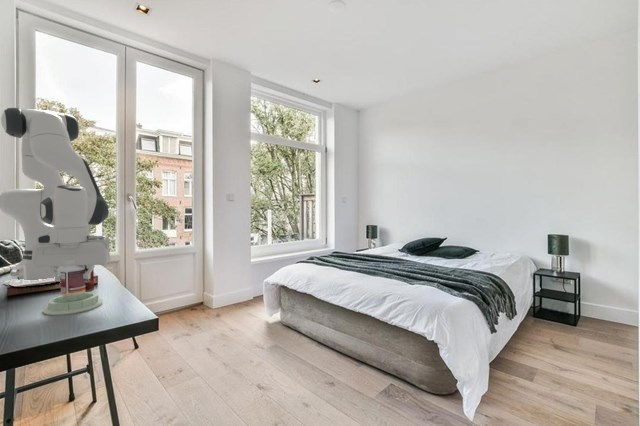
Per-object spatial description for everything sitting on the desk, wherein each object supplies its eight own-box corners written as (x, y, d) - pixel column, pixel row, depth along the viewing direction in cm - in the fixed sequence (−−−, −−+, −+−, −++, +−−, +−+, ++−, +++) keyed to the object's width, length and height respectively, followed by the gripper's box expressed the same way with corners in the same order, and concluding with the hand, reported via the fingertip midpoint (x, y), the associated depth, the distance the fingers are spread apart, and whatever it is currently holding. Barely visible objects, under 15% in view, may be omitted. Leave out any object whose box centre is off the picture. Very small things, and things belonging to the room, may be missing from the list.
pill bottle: (89, 290, 105) (88, 257, 104) (79, 295, 99) (78, 260, 98) (67, 291, 103) (66, 257, 103) (56, 297, 97) (55, 261, 97)
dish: (30, 312, 96) (30, 302, 96) (81, 298, 111) (81, 289, 111) (65, 317, 92) (64, 307, 92) (113, 302, 106) (113, 293, 106)
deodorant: (83, 291, 119) (82, 251, 118) (70, 291, 120) (69, 251, 119) (97, 287, 124) (96, 249, 124) (85, 286, 126) (84, 249, 125)
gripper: (113, 234, 106) (113, 275, 106) (40, 236, 101) (41, 279, 102) (105, 236, 100) (105, 280, 100) (27, 238, 95) (29, 284, 95)
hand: (73, 279), depth 101 cm, fingers closed on pill bottle, 6 cm apart
